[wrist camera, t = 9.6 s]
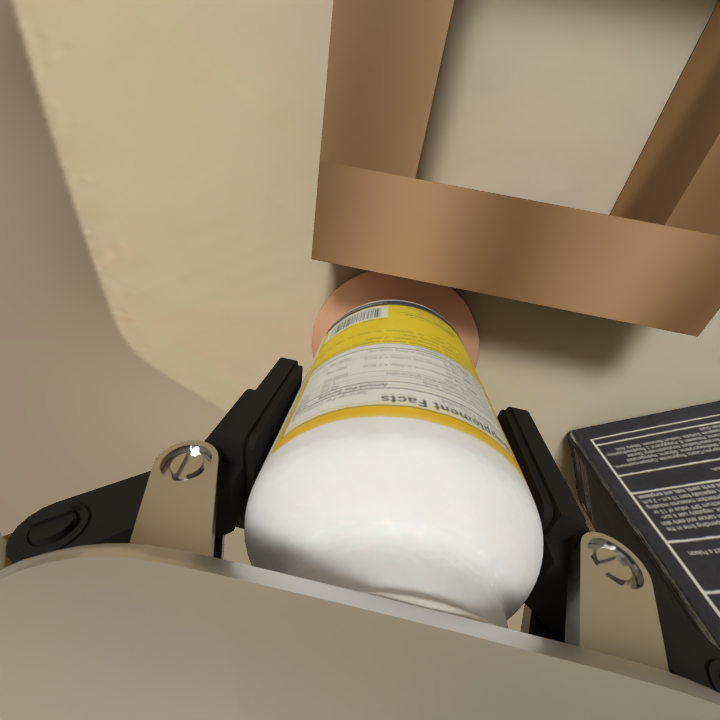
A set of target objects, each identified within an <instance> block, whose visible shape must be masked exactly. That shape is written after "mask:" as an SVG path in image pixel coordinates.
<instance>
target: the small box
mask: <svg viewBox="0 0 720 720" xmlns="http://www.w3.org/2000/svg"><path fill="white" fill-rule="evenodd" d="M568 440H569V441H568V442H569V445H570V447H571V449H572V453H571V455H572V456H573V462H574V468H575V477H576V481H577V485H576V488H577V492H578V496H579V498H580V503H581V505H582V507H583V509H584V510H585V512H586V513H587V515H588V517H589V519H590V521H591V522H592V524H593V526H594V528H595V530H596V531H597V532H598V533H603V534H605V535H607V536H610V537H612V538H614V539H615V540H617V541H618V542H620V543H622V544H623V545H624V546H625V547H627V548H628V549H629V550H630V551H631V552H633V553H634V554H635V556H636V557H637V558H638V559H639V560H640V561H641V562H642V564H643V565H644V567H645V568H646V570H647V571H648V573H649V575H650V578H651V581H652V584H653V589H654V595H655V597H656V598H657V599H659V600H660V601H661V602H662V603H663V604H665V605H666V606H667V607H668V608H670V609H671V610H672V611H673V612H675V613H676V614H677V615H678V616H680V617H681V618H682V619H683V620H684V621H686V622H687V623H688V624H689V625H691V626H692V627H693V628H694V629H696V630H697V631H698V632H699V633H701V634H702V635H703V636H704V637H705V638H707V639H708V640H709V641H710V642H712V643H713V644H714V645H715V646H717V647H718V648H719V649H720V401H716V402H712V403H707V404H702V405H696V406H691V407H686V408H681V409H676V410H671V411H666V412H662V413H657V414H651V415H647V416H641V417H637V418H632V419H627V420H622V421H616V422H612V423H607V424H602V425H597V426H591V427H587V428H582V429H577V430H572V431H571V432H570V434H569V436H568Z"/></svg>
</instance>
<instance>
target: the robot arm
mask: <svg viewBox="0 0 720 720" xmlns="http://www.w3.org/2000/svg"><path fill="white" fill-rule="evenodd" d="M302 371H303V368H302V366H299V365H298V362H297V361H296V360H291V359H286V358H280V359H279V360H278V362H277V363H276V364H275V366H274V367H273V368H272V369H271V371H270V372H269V373H268V375H267V376H266V377H265V379H264V380H263V381H262V383H261V384H260V385H259V386H258V388H257V389H256V390H252V389H248V390H246V391H245V392H244V393H243V395H242V396H241V397H240V398H239V400H238V401H237V402H236V403H235V404H234V406H233V407H232V408H231V409H230V411H229V412H228V413H227V414H226V415H225V417H224V418H223V419H222V420H221V422H220V423H219V424H218V425H217V427H216V428H215V429H214V430H213V432H212V433H211V434H210V435H209V436H208V438H207V439H206V440H205V441H204V442H203V441H186V442H181V443H178V444H175V445H173V446H171V447H169V448H168V449H166V450H164V451H163V452H162V453H161V454H160V455H159V456H158V457H157V458H156V460H155V462H154V464H153V466H152V469H151V471H149V472H146V473H143V474H140V475H137V476H134V477H131V478H128V479H125V480H122V481H119V482H116V483H113V484H110V485H107V486H104V487H101V488H98V489H96V490H92V491H89V492H86V493H83V494H80V495H77V496H74V497H71V498H68V499H66V500H62V501H59V502H56V503H54V504H51V505H49V506H47V507H45V508H42V509H41V510H39V511H37V512H36V513H34V514H32V515H31V516H29V517H28V518H27V519H26V520H25V521H23V522H22V523H21V524H20V525H19V526H18V527H17V528H16V529H15V531H14V532H13V533H11V534H8V535H5V536H2V535H1V533H0V720H720V649H719V648H718V647H717V646H715V645H714V644H713V643H712V642H710V641H709V640H708V639H707V638H705V637H704V636H703V635H702V634H701V633H699V632H698V631H697V630H696V629H694V628H693V627H692V626H691V625H689V624H688V623H687V622H686V621H684V620H683V619H682V618H681V617H680V616H678V615H677V614H676V613H675V612H673V611H672V610H671V609H670V608H668V607H667V606H666V605H665V604H663V603H662V602H661V601H660V600H659V599H657V598H656V597H655V595H654V589H653V584H652V581H651V578H650V575H649V573H648V571H647V570H646V568H645V567H644V565H643V564H642V562H641V561H640V560H639V559H638V558H637V557H636V556H635V554H634V553H633V552H631V551H630V550H629V549H628V548H627V547H625V546H624V545H623V544H622V543H620V542H618V541H617V540H615V539H614V538H612V537H610V536H607V535H605V534H603V533H598V532H590V531H589V529H588V527H587V526H586V524H585V522H586V520H585V518H584V516H583V514H582V512H581V510H580V508H579V506H578V505H577V503H576V501H575V499H574V497H573V495H572V493H571V491H570V489H569V488H568V486H567V484H566V482H565V480H564V478H563V476H562V474H561V472H560V471H559V469H558V467H557V465H556V463H555V461H554V459H553V457H552V455H551V453H550V452H549V450H548V448H547V446H546V444H545V442H544V440H543V438H542V436H541V435H540V433H539V431H538V429H537V427H536V425H535V423H534V421H533V419H532V418H531V416H530V414H529V412H528V411H526V410H522V409H517V408H513V407H508V408H507V409H506V410H501V411H500V412H499V414H498V416H497V419H498V421H499V423H500V426H501V428H502V430H503V432H504V435H505V437H506V439H507V441H508V443H509V445H510V448H511V450H512V452H513V454H514V456H515V458H516V461H517V463H518V465H519V467H520V469H521V472H522V474H523V476H524V478H525V480H526V483H527V485H528V488H529V490H530V492H531V495H532V497H533V500H534V502H535V505H536V507H537V510H538V513H539V516H540V520H541V525H542V531H543V558H542V564H541V569H540V573H539V576H538V578H537V581H536V583H535V585H534V587H533V589H532V591H531V593H530V595H529V596H528V598H527V599H526V601H525V602H524V603H525V606H524V612H523V619H522V625H521V632H519V631H515V630H511V629H507V628H503V627H499V626H495V625H491V624H487V623H483V622H479V621H475V620H471V619H467V618H463V617H459V616H455V615H451V614H447V613H443V612H439V611H435V610H431V609H427V608H423V607H419V606H415V605H411V604H407V603H403V602H399V601H394V600H390V599H386V598H382V597H378V596H374V595H370V594H366V593H362V592H358V591H354V590H350V589H346V588H341V587H337V586H333V585H329V584H325V583H321V582H317V581H312V580H308V579H304V578H300V577H296V576H292V575H287V574H283V573H279V572H275V571H271V570H267V569H262V568H258V567H254V566H250V565H246V564H241V563H237V562H232V561H227V560H223V556H224V538H225V535H226V534H228V533H230V532H232V531H234V529H235V527H239V528H243V529H244V522H245V513H246V508H247V503H248V499H249V496H250V493H251V490H252V487H253V485H254V483H255V481H256V479H257V477H258V475H259V473H260V471H261V468H262V466H263V464H264V462H265V460H266V458H267V456H268V454H269V452H270V450H271V448H272V446H273V444H274V442H275V440H276V438H277V436H278V434H279V431H280V429H281V427H282V425H283V423H284V421H285V419H286V417H287V415H288V412H289V410H290V408H291V406H292V404H293V402H294V400H295V398H296V395H297V393H298V391H299V389H300V387H301V382H302Z"/></svg>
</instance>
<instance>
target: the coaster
mask: <svg viewBox="0 0 720 720" xmlns="http://www.w3.org/2000/svg"><path fill="white" fill-rule="evenodd" d="M380 300H404V301H409V302H413V303H417V304H420V305H423V306H425V307H427V308H429V309H431V310H433V311H434V312H436V313H438V314H439V315H440V316H442V317H443V318H444V319H445V320H446V321H447V322H449V324H450V325H451V326H452V327H453V328H454V330H455V331H456V332H457V334H458V335H459V337H460V339H461V340H462V342H463V344H464V346H465V348H466V351H467V353H468V355H469V358H470V360H471V362H472V364H473V366H474V368H475V367H476V364H477V361H478V355H479V337H478V330H477V327H476V324H475V320H474V318H473V316H472V314H471V312H470V310H469V308H468V306H467V305H466V303H465V302H464V300H463V299H462V297H461V296H460V295H459V294H458V293H457V292H456V291H455V290H454V289H453V288H452V287H448V286H443V285H438V284H433V283H428V282H423V281H418V280H413V279H408V278H403V277H398V276H393V275H388V274H383V273H378V272H373V271H366V272H363V273H361V274H359V275H356V276H354V277H353V278H351V279H349V280H348V281H346V282H345V283H343V284H342V285H341V286H340V287H338V288H337V289H336V290H335V291H334V293H333V294H332V295H331V296H330V297H329V298H328V300H327V301H326V303H325V304H324V305H323V307H322V308H321V310H320V312H319V314H318V316H317V319H316V322H315V325H314V328H313V334H312V352H313V358H314V357H315V355H316V353H317V350H318V348H319V346H320V344H321V342H322V340H323V338H324V336H325V334H326V333H327V331H328V330H329V329H330V327H331V326H332V325H333V324H334V323H335V322H336V321H337V320H338V319H339V318H340V317H342V316H343V315H344V314H346V313H347V312H349V311H351V310H352V309H354V308H356V307H359V306H361V305H364V304H367V303H370V302H374V301H380Z"/></svg>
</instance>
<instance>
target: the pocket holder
mask: <svg viewBox="0 0 720 720" xmlns="http://www.w3.org/2000/svg"><path fill="white" fill-rule="evenodd" d="M453 4H454V0H333V12H332V24H331V35H330V47H329V59H328V70H327V82H326V94H325V106H324V117H323V129H322V141H321V152H320V164H319V176H318V188H317V199H316V211H315V223H314V234H313V246H312V258H311V259H314V260H319V261H324V262H329V263H334V264H339V265H344V266H349V267H354V268H358V269H363V270H368V271H373V272H378V273H383V274H388V275H393V276H398V277H403V278H408V279H413V280H418V281H423V282H428V283H433V284H438V285H443V286H448V287H453V288H458V289H463V290H468V291H473V292H478V293H483V294H488V295H493V296H498V297H503V298H508V299H513V300H518V301H523V302H528V303H533V304H538V305H543V306H548V307H553V308H558V309H563V310H568V311H573V312H578V313H583V314H588V315H593V316H598V317H603V318H608V319H613V320H618V321H623V322H628V323H633V324H638V325H643V326H648V327H653V328H657V329H662V330H667V331H672V332H677V333H682V334H687V335H692V336H697V337H698V336H699V334H700V333H701V332H702V331H703V329H704V328H705V327H706V325H707V324H708V323H709V321H710V320H711V319H712V318H713V316H714V315H715V314H716V312H717V311H718V310H719V309H720V0H719V2H718V4H717V6H716V8H715V10H714V12H713V14H712V16H711V18H710V20H709V21H708V23H707V25H706V27H705V29H704V31H703V33H702V35H701V37H700V39H699V41H698V43H697V45H696V47H695V49H694V51H693V53H692V55H691V57H690V59H689V61H688V63H687V65H686V67H685V69H684V70H683V72H682V74H681V76H680V78H679V80H678V82H677V84H676V86H675V88H674V90H673V92H672V94H671V96H670V98H669V100H668V102H667V104H666V106H665V108H664V110H663V112H662V114H661V116H660V118H659V119H658V121H657V123H656V125H655V127H654V129H653V131H652V133H651V135H650V137H649V139H648V141H647V143H646V145H645V147H644V149H643V151H642V153H641V155H640V157H639V159H638V161H637V163H636V165H635V166H634V168H633V170H632V172H631V174H630V176H629V178H628V180H627V182H626V184H625V186H624V188H623V190H622V192H621V194H620V196H619V198H618V200H617V202H616V204H615V206H614V208H613V210H612V212H611V214H610V215H606V214H601V213H595V212H590V211H585V210H580V209H574V208H569V207H564V206H558V205H553V204H548V203H542V202H537V201H532V200H526V199H521V198H516V197H510V196H505V195H500V194H495V193H489V192H484V191H479V190H473V189H468V188H463V187H457V186H452V185H447V184H441V183H436V182H431V181H426V180H420V179H415V178H416V174H417V169H418V164H419V160H420V155H421V151H422V146H423V142H424V137H425V132H426V128H427V123H428V119H429V114H430V110H431V105H432V100H433V96H434V91H435V87H436V82H437V78H438V73H439V68H440V64H441V59H442V55H443V50H444V46H445V41H446V36H447V32H448V27H449V23H450V18H451V13H452V9H453Z"/></svg>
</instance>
